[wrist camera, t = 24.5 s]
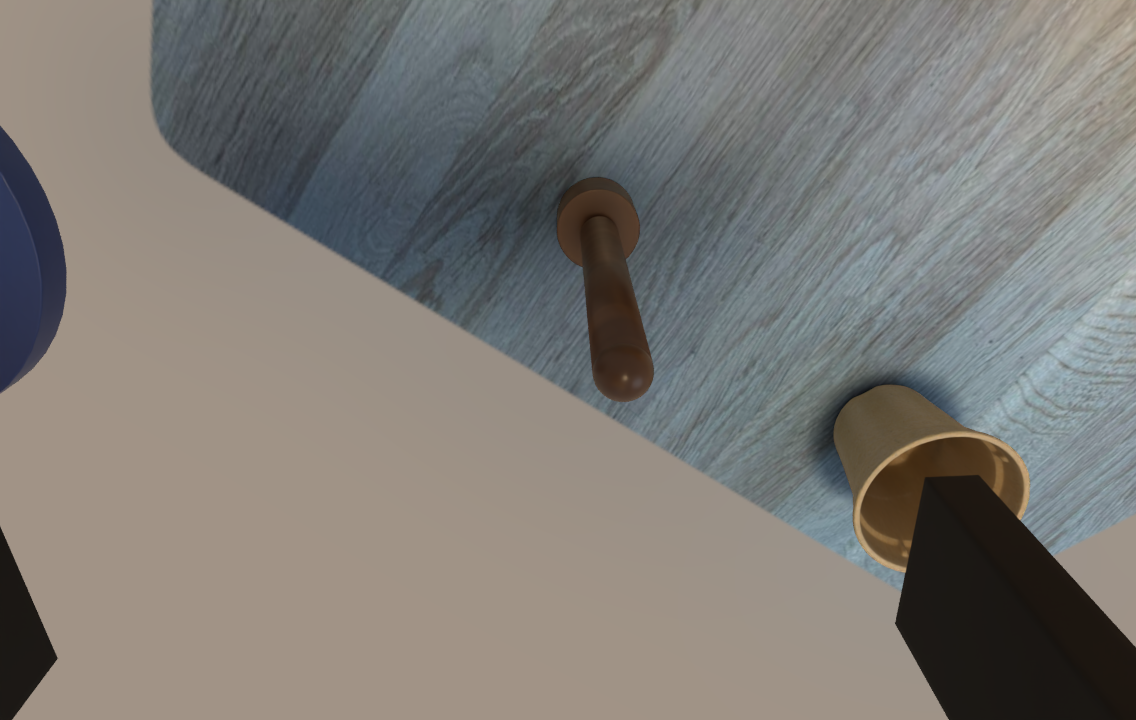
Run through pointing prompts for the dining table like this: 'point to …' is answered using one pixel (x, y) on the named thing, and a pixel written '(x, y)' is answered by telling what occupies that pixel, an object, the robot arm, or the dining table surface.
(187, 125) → the dining table surface
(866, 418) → the flower pot
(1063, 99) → the dining table surface
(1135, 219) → the dining table surface
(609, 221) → the wooden pestle
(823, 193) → the dining table surface
